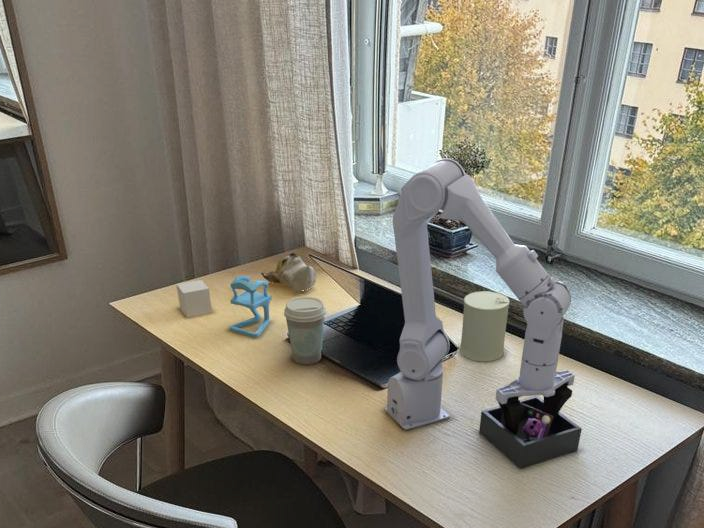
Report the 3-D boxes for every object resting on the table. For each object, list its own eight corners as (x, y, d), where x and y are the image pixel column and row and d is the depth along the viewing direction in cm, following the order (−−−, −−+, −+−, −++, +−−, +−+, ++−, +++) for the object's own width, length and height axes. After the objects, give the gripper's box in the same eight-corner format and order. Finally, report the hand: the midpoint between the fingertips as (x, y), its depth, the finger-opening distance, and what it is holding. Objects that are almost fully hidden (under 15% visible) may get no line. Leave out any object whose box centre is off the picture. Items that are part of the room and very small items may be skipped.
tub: (520, 468, 129) (523, 446, 126) (478, 432, 138) (481, 410, 135) (577, 451, 133) (582, 428, 130) (533, 417, 142) (537, 395, 139)
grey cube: (179, 308, 184) (176, 284, 180) (204, 303, 186) (201, 279, 182) (187, 317, 179) (183, 293, 176) (212, 312, 181) (209, 288, 178)
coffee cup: (280, 363, 160) (276, 309, 153) (297, 346, 167) (294, 293, 160) (317, 370, 158) (315, 315, 151) (334, 352, 164) (332, 298, 157)
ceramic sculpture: (289, 264, 181) (256, 250, 191) (292, 300, 186) (260, 285, 196) (326, 255, 186) (292, 242, 196) (328, 290, 191) (295, 275, 201)
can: (502, 363, 159) (509, 308, 152) (457, 359, 161) (462, 305, 154) (504, 343, 166) (510, 290, 159) (461, 340, 168) (465, 287, 161)
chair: (278, 324, 176) (275, 273, 168) (256, 338, 170) (251, 286, 163) (251, 317, 179) (247, 266, 172) (228, 330, 173) (223, 279, 166)
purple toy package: (505, 398, 134) (550, 416, 128) (520, 396, 137) (564, 414, 132) (494, 434, 136) (537, 454, 131) (509, 431, 140) (552, 450, 135)
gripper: (517, 378, 121) (507, 450, 129) (591, 358, 126) (577, 429, 134) (491, 359, 126) (483, 430, 134) (564, 341, 131) (552, 410, 139)
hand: (529, 428), depth 134 cm, fingers open, 7 cm apart
